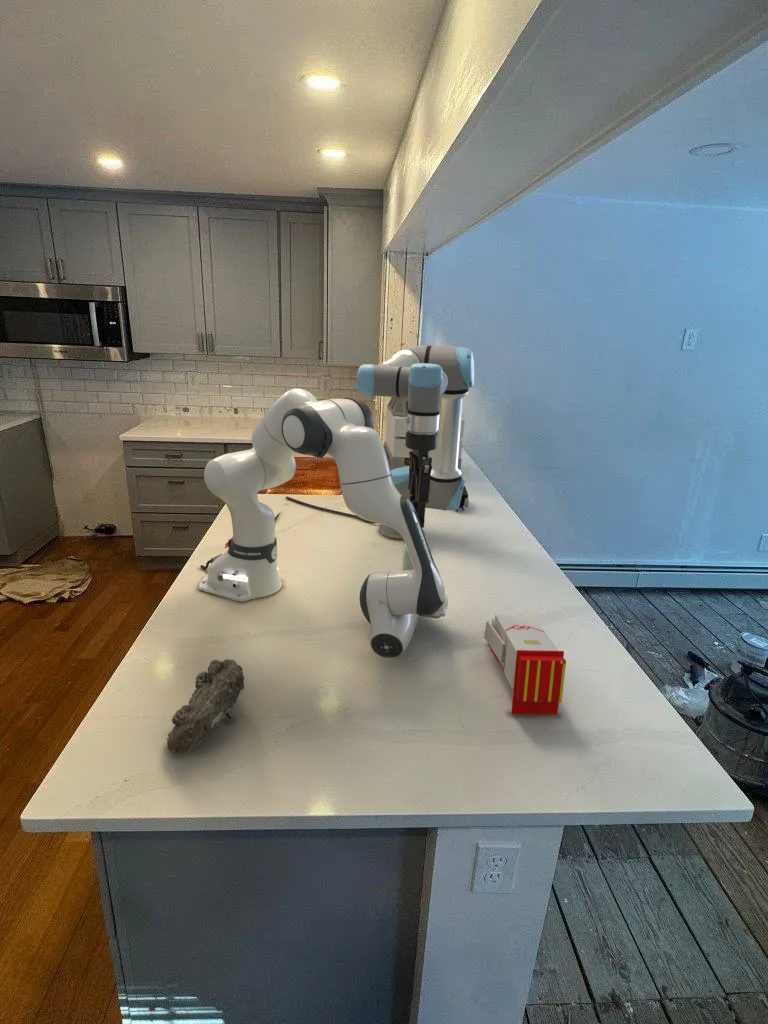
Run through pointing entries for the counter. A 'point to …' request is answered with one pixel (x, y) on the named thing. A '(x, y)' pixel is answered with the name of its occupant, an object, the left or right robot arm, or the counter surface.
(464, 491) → the figurine character
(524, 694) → the toy
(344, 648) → the counter surface
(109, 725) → the counter surface
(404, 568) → the bottle
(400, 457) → the white storage crate
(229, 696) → the fossil
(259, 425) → the left robot arm
